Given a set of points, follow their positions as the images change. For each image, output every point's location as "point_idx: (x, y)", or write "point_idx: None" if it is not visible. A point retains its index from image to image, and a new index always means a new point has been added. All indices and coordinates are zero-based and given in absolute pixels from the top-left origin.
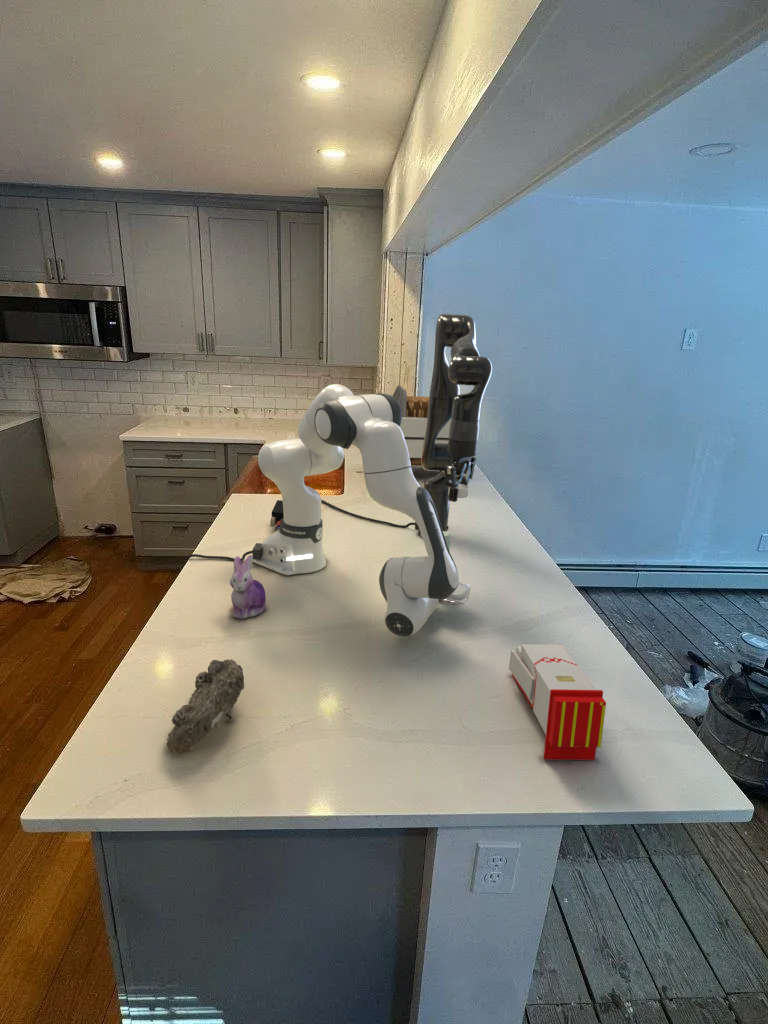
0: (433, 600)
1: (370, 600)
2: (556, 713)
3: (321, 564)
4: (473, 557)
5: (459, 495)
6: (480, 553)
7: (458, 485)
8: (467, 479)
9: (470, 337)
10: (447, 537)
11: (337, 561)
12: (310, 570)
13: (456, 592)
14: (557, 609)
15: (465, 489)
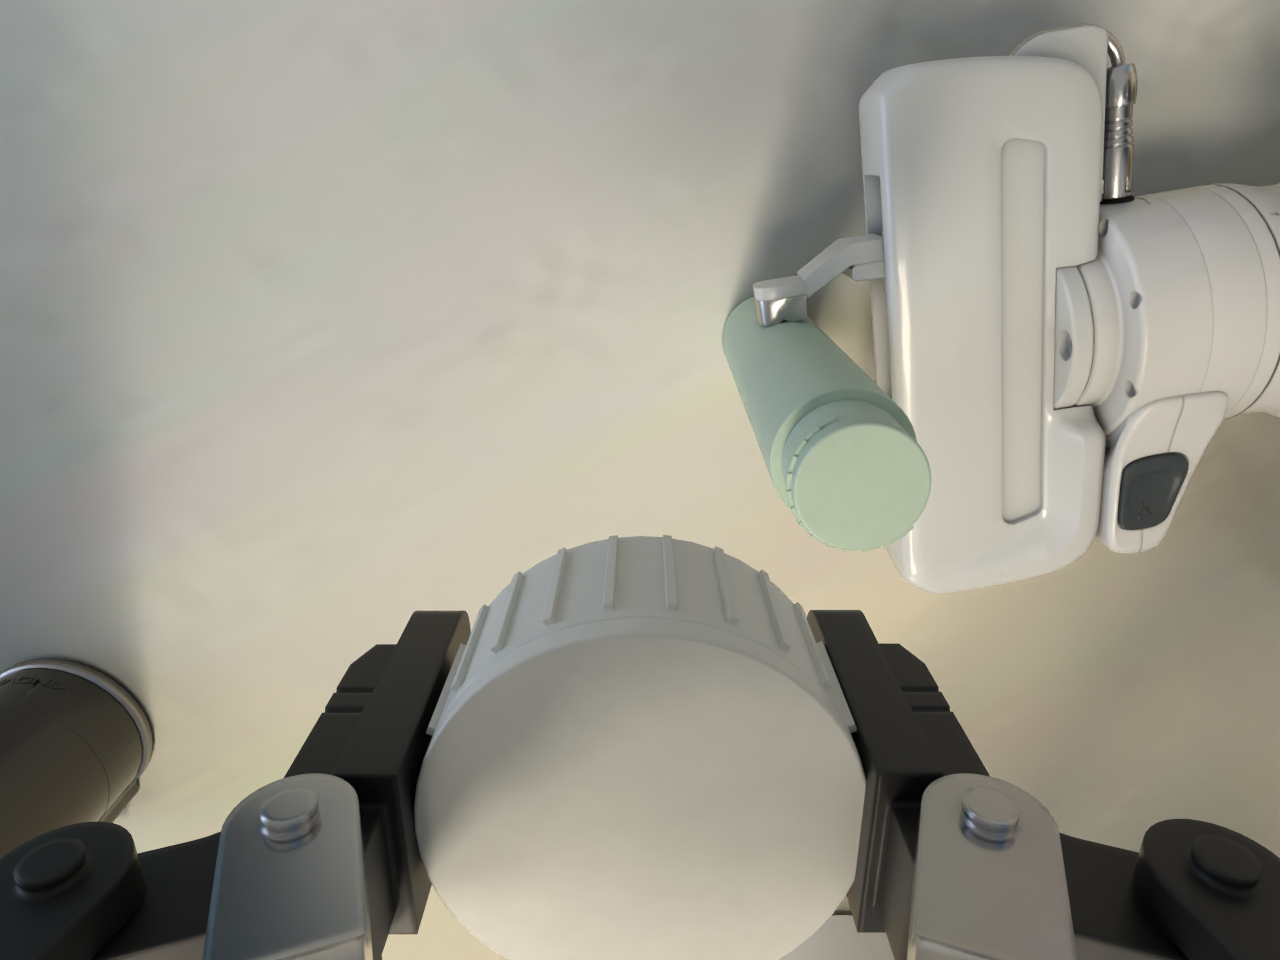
0: (1263, 194)
1: (1000, 596)
2: None
3: (837, 935)
4: (127, 409)
5: (807, 640)
6: (35, 400)
7: (945, 832)
8: (347, 863)
9: None
10: (890, 421)
11: None
12: None
13: (1072, 108)
14: None
15: (723, 639)
